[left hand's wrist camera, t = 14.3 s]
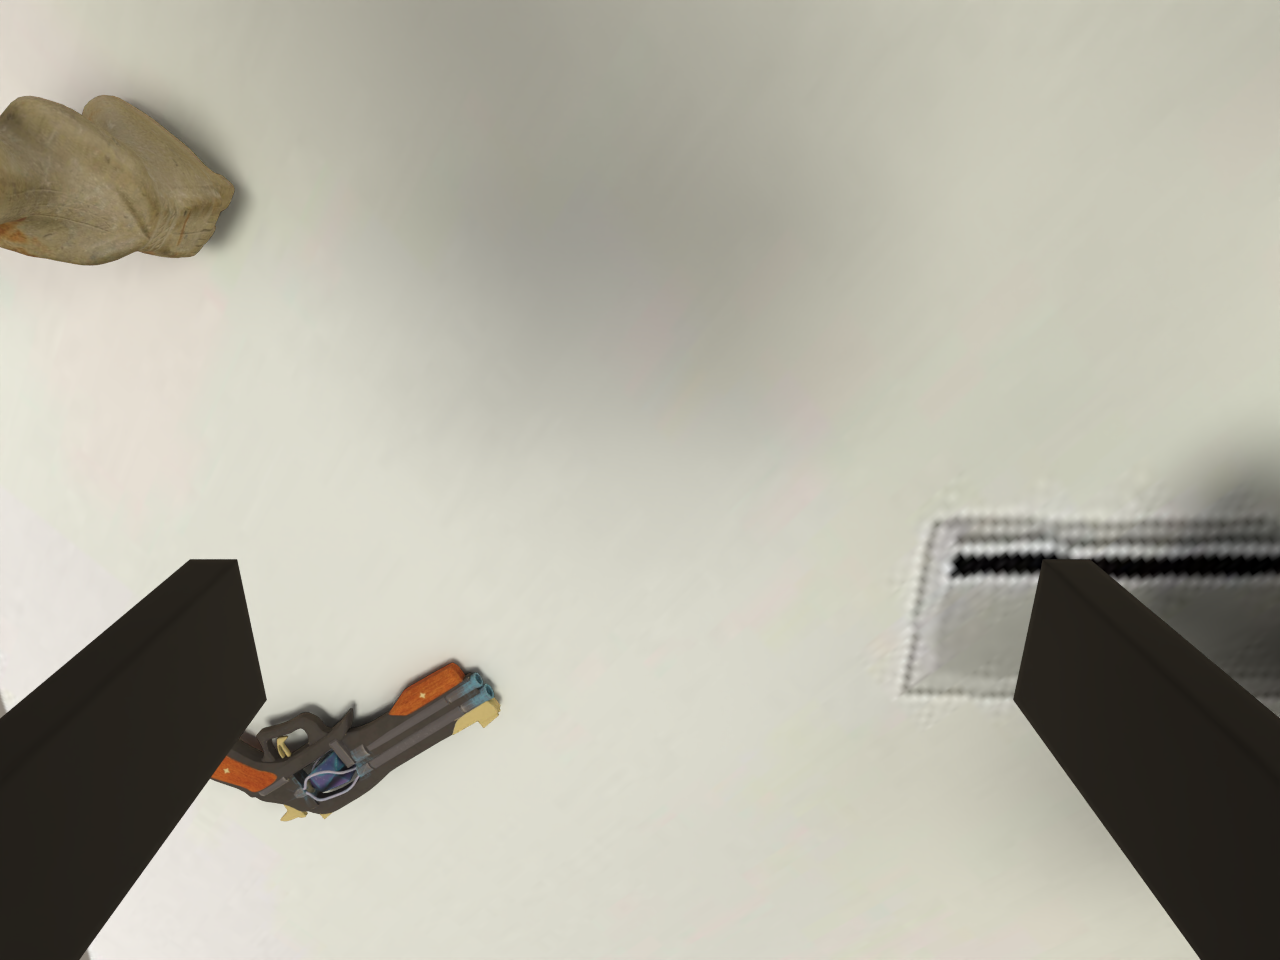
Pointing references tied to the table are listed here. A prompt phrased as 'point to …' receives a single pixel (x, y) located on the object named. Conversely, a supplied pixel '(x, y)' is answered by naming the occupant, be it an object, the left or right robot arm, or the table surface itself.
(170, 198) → the sculpture
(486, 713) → the toy gun
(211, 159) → the table surface
